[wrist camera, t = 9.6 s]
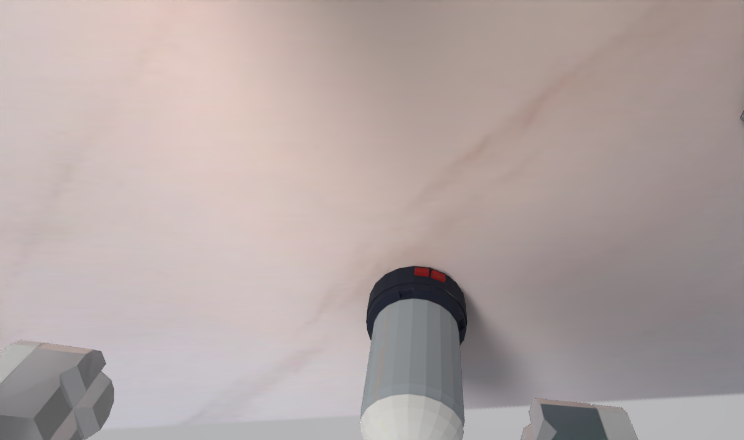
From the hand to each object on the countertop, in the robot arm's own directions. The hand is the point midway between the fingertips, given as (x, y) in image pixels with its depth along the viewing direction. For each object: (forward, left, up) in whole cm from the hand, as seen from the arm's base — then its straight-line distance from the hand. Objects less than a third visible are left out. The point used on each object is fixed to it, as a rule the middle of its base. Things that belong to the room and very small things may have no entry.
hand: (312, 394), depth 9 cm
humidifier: (+20, +4, -27) cm, 33 cm away
